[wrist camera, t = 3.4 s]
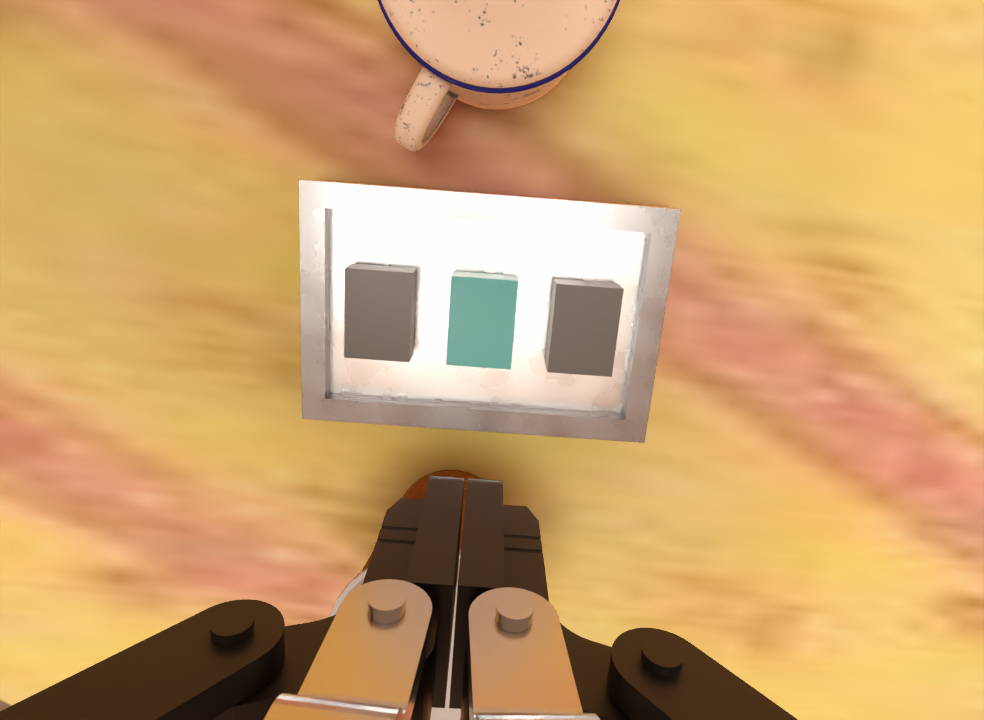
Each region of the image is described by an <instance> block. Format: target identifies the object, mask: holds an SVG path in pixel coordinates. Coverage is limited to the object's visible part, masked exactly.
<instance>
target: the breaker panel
mask: <svg viewBox="0 0 984 720" xmlns="http://www.w3.org/2000/svg"><path fill="white" fill-rule="evenodd" d="M680 212H681V209H675V208H669V207H662V206H649V205H636V204H623V203H610V202H597V201H584V200H571V199H558V198H545V197H532V196H519V195H506V194H494V193H481V192H468V191H455V190H442V189H429V188H416V187H403V186H390V185H377V184H364V183H351V182H338V181H325V180H299V228H300V304H301V380H302V419H313V420H327V421H342V422H356V423H370V424H384V425H399V426H413V427H427V428H441V429H456V430H470V431H484V432H498V433H513V434H527V435H541V436H555V437H570V438H584V439H598V440H612V441H627V442H641V443H644V442H645V435H646V429H647V422H648V416H649V410H650V403H651V397H652V390H653V384H654V378H655V371H656V365H657V359H658V352H659V346H660V339H661V333H662V327H663V320H664V314H665V307H666V301H667V295H668V288H669V282H670V275H671V269H672V263H673V256H674V250H675V244H676V237H677V231H678V224H679V218H680ZM352 263H353V264H366V265H380V266H393V267H407V268H417V279H416V303H415V328H414V353H413V356H412V358H411V360H410V362H398V361H384V360H370V359H356V358H344V302H345V267H347V266H349V265H350V264H352ZM453 271H460V272H473V273H487V274H500V275H513V276H518V280H519V283H518V295H517V306H516V317H515V329H514V340H513V352H512V363H511V370H509V369H495V368H481V367H467V366H453V365H446V357H447V339H448V321H449V303H450V285H451V275H452V273H453ZM553 279H567V280H580V281H593V282H607V283H618V284H619V285H620V286H621V287H622V288H624V292H623V299H622V306H621V314H620V321H619V328H618V336H617V343H616V350H615V358H614V365H613V372H612V377H606V376H592V375H578V374H564V373H550V372H547V369H546V366H545V356H546V346H547V337H548V327H549V317H550V307H551V298H552V288H553Z"/></svg>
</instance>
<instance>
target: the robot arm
mask: <svg viewBox="0 0 984 720" xmlns="http://www.w3.org/2000/svg"><path fill="white" fill-rule="evenodd" d="M464 479H465V478H453V477H439V476H430V477H429V481H428V485H427V490H426V494H425V499H410V498H401V499H400V500H399V501H397V502H396V503H395V504H394V505H393V506H392V507H390V508H389V509H388V510H387V512H386V515H385V518H384V521H383V524H382V529H381V530H380V533H379V536H378V540H377V542H376V545H375V548H374V551H373V554H372V557H371V560H370V563H369V566H368V569H367V572H366V575H365V578H364V581H363V584H362V585H360V586H359V587H357V588H355V589H354V590H352V591H351V592H350V593H349V594H348V595H347V596H346V597H345V598H344V600H343V602H342V603H341V605H340V608H339V610H338V612H337V614H335V615H333V616H331V617H329V618H326V619H322V620H319V621H314V622H310V623H303V624H297V625H291V626H284V619H283V616H282V614H281V612H280V611H279V610H278V609H277V608H275V607H274V606H272V605H271V604H268V603H266V602H262V601H258V600H234V601H229V602H224V603H221V604H218V605H215V606H213V607H210V608H208V609H206V610H204V611H202V612H200V613H198V614H196V615H194V616H192V617H190V618H188V619H186V620H184V621H182V622H180V623H178V624H176V625H174V626H172V627H170V628H168V629H166V630H164V631H162V632H160V633H158V634H156V635H154V636H152V637H150V638H148V639H146V640H144V641H141V642H139V643H137V644H135V645H133V646H131V647H129V648H127V649H125V650H123V651H121V652H119V653H117V654H115V655H113V656H111V657H109V658H107V659H105V660H103V661H101V662H99V663H97V664H95V665H93V666H91V667H89V668H87V669H85V670H83V671H81V672H79V673H77V674H75V675H73V676H71V677H69V678H67V679H65V680H63V681H61V682H59V683H57V684H55V685H53V686H51V687H49V688H47V689H45V690H43V691H41V692H39V693H37V694H35V695H33V696H31V697H29V698H27V699H25V700H23V701H20V702H18V703H16V704H14V705H12V706H10V707H8V708H6V709H5V710H2V711H0V720H430V719H431V711H432V707H434V708H445V702H446V691H447V681H448V670H449V660H450V649H451V639H452V629H453V618H454V608H455V597H456V587H457V576H458V565H459V552H460V538H461V524H462V510H463V495H464ZM540 537H541V536H540V529H539V521H538V520H537V519H536V517H535V516H534V515H533V514H532V513H531V511H530V510H529V509H528V508H527V507H525V506H510V505H503V487H502V481H497V480H483V479H469V478H468V480H467V491H466V501H465V512H464V523H463V534H462V544H461V555H460V566H459V577H458V588H457V602H456V616H455V631H454V645H453V659H452V673H451V687H450V702H449V708H453V709H461V717H460V720H797V719H796V718H795V717H793V716H792V715H790V714H789V713H788V712H786V711H785V710H783V709H782V708H781V707H779V706H778V705H776V704H775V703H774V702H772V701H771V700H769V699H768V698H767V697H765V696H764V695H762V694H761V693H760V692H758V691H757V690H755V689H754V688H753V687H751V686H750V685H748V684H747V683H746V682H744V681H743V680H741V679H740V678H739V677H737V676H736V675H734V674H733V673H732V672H730V671H729V670H727V669H726V668H725V667H723V666H722V665H720V664H719V663H718V662H716V661H715V660H713V659H712V658H711V657H709V656H708V655H706V654H705V653H703V652H702V651H701V650H699V649H698V648H696V647H695V646H694V645H692V644H691V643H689V642H688V641H686V640H685V639H683V638H681V637H679V636H677V635H675V634H673V633H670V632H667V631H664V630H660V629H654V628H636V629H632V630H628V631H626V632H624V633H622V634H621V635H620V636H618V638H617V639H616V640H615V641H614V644H613V646H612V647H609V646H606V645H603V644H600V643H597V642H593V641H590V640H588V639H585V638H582V637H580V636H578V635H576V634H574V633H573V632H571V631H570V630H568V629H567V628H566V627H564V626H563V625H562V624H561V623H560V621H559V617H558V614H557V612H556V610H555V608H554V607H553V606H552V605H551V604H550V602H549V599H548V591H547V583H546V575H545V568H544V560H543V553H542V544H541V540H540Z"/></svg>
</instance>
